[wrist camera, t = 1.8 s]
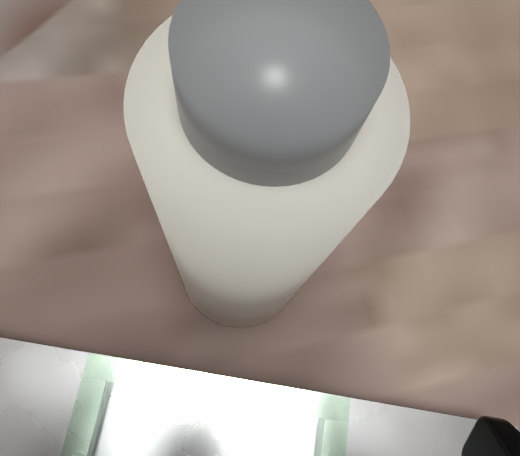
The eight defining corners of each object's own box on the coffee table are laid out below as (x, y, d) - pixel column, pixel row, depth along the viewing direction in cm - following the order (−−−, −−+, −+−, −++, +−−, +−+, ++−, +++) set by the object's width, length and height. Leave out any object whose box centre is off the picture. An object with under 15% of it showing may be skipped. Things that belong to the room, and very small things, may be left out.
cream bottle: (311, 307, 20) (510, 152, 6) (200, 342, 19) (150, 252, 5) (275, 204, 21) (374, -107, 8) (170, 233, 21) (70, -60, 7)
